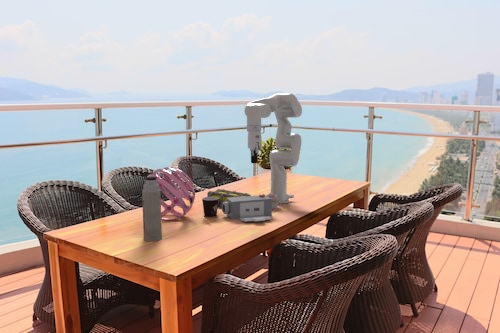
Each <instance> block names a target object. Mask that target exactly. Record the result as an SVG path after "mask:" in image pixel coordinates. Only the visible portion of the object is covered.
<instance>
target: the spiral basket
mask: <svg viewBox="0 0 500 333" xmlns="http://www.w3.org/2000/svg"><path fill="white" fill-rule="evenodd" d="M168 170H170V171H172V172H169V171H168ZM158 172H159V173H162V176H163V177H164V178H163V177H161V176H159V175H158ZM146 177H157V179H156V180H157V184H159V189H160V191H161V193H162V194H163V195H164V196H165V197H166V198H167V199H168V200H169V201H170V202H171V203H170V204H168V203H166V202H165V201H164V200H163V199H162V198H161V207H162V208H164V210H163V211H161V221H166V222H171V221H177V220H179V219H181V218H183V217H185V216H186V215H187V214H188V213H189V212H190V210H191V209H192V207H193V206H194V202H195V199H196V191H195V186H194V182H193V181H192V179H191V178H190V176H189V175H188V174H186V172H184V171H183V170H181V169H179V168H173V167H171V166H170V167H169V166H168V167H167V166H166V167H164V168H158V169H155V170H153V172H152V173H151V174H150V173H149V174H148V175H147V176H146ZM144 180H145V181H146V179H144ZM175 183H176V184H177V185H178V186H176V184H175ZM190 192H192V194H191V193H190ZM184 200H187V201H188V202H189V205H188V204H186V202H185V201H184ZM175 207H178V208H181V209H182V213H181V212H179V211H177V210H175ZM169 213H170V214H172V215H174V216H176V217H174V218H162V217H163V216H165V215H167V214H169Z"/></svg>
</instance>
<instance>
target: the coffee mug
mask: <svg viewBox="0 0 500 333" xmlns="http://www.w3.org/2000/svg"><path fill="white" fill-rule="evenodd" d="M201 199H202V207H203V208H202V209H203V215H204V218H205V219H206V218H215V217H217V216H218V209H219V205H220V203H221V201H220V199H219V198H217V197H207V196H205V197H202V198H201ZM218 200H219V201H220V202H219V205H218Z"/></svg>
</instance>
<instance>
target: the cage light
mask: <svg viewBox="0 0 500 333" xmlns="http://www.w3.org/2000/svg"><path fill="white" fill-rule="evenodd" d="M244 196H252V194H249V193H247V192H244V193H243V192H240V191H239V192H238V191H236V190H227V189H223V188H222V189H220V188H218V189H216V190H214V191H212V190H208V192H207V195H206V197H217V198H219V199H220V201H221V203H220V205H219V202H220V201H219V200H218V205H219V207H218V209H219V208H220V209H222V204H223V202H226V198H229V197H244Z"/></svg>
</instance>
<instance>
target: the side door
mask: <svg viewBox="0 0 500 333" xmlns="http://www.w3.org/2000/svg"><path fill="white" fill-rule="evenodd" d="M238 220H240V221H241V222H244V223H246V222H262V221H263V222H264V221H266V220H267V221H268V220H272V216H255V217H243V218H239V219H238Z"/></svg>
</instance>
